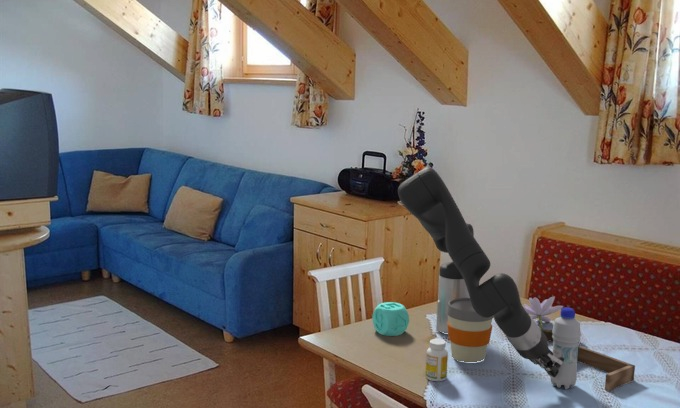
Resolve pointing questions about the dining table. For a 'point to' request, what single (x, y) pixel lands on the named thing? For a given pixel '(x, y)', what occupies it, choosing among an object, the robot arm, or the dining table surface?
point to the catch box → (608, 367)
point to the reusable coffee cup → (467, 331)
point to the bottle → (566, 347)
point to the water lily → (541, 309)
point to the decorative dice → (390, 319)
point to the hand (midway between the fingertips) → (554, 373)
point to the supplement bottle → (436, 360)
